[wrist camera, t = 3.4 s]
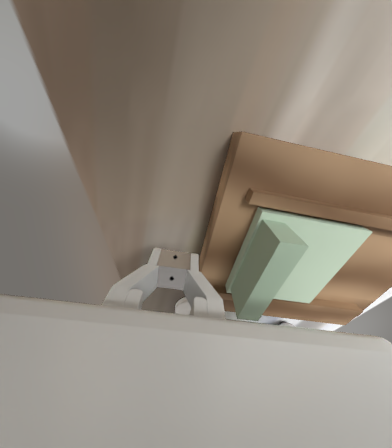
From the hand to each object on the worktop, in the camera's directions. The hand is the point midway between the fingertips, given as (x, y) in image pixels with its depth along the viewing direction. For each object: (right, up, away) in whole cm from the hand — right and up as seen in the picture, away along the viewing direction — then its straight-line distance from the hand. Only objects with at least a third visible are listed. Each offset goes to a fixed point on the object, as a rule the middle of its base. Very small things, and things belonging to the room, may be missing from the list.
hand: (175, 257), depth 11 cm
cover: (+9, -1, +2) cm, 9 cm away
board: (+11, 0, +5) cm, 12 cm away
